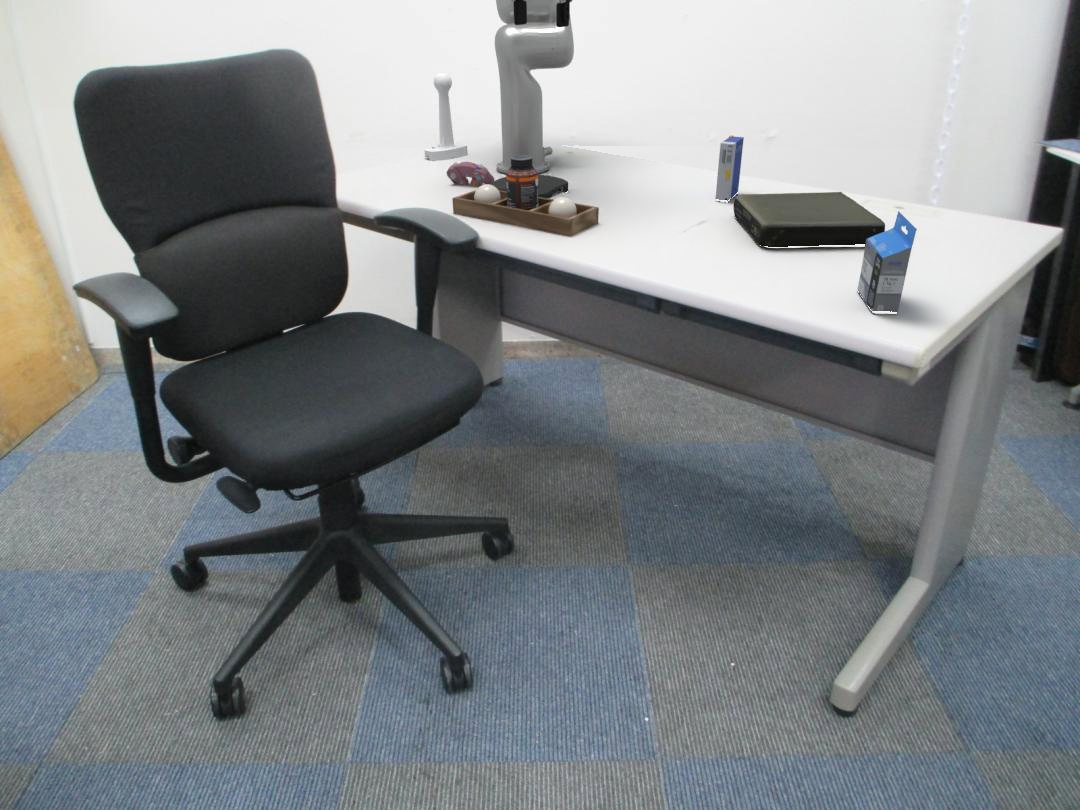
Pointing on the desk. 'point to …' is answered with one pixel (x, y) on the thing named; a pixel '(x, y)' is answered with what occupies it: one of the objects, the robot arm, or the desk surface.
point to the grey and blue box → (886, 266)
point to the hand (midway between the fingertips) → (541, 25)
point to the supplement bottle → (522, 183)
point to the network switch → (806, 219)
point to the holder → (527, 214)
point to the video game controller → (469, 174)
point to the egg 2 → (562, 207)
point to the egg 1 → (487, 194)
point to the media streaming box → (540, 185)
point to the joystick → (445, 124)
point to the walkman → (729, 167)
